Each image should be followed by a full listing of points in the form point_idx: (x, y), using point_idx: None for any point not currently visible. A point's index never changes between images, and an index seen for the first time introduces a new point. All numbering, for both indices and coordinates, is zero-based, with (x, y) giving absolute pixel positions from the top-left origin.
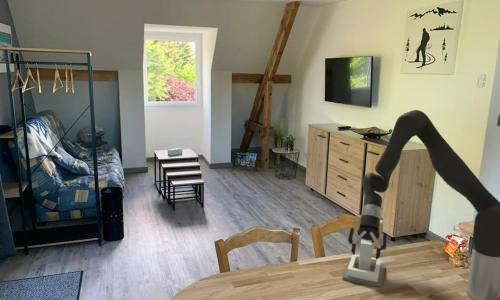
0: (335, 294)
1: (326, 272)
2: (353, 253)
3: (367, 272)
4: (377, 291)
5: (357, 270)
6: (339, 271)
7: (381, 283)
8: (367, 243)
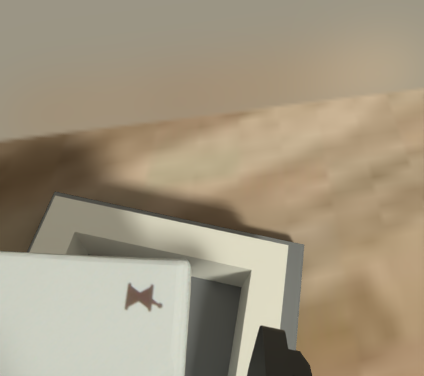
0: (318, 108)
1: (417, 322)
2: (271, 327)
3: (133, 216)
4: (94, 161)
5: (210, 231)
6: (331, 360)
7: (46, 211)
8: (62, 295)
